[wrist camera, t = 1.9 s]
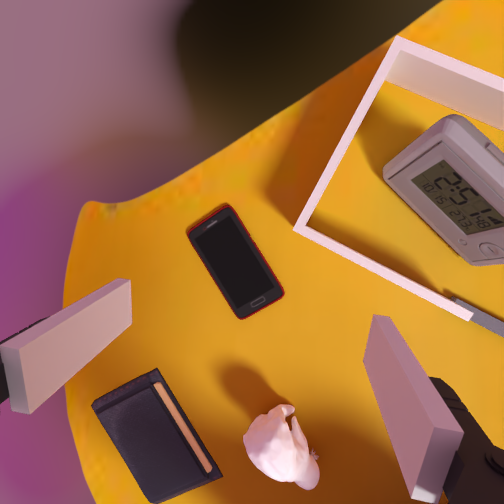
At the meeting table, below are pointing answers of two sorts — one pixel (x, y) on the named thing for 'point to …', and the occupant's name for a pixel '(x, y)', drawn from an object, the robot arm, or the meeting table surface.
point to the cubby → (431, 87)
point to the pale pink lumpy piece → (281, 448)
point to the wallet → (155, 438)
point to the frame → (482, 318)
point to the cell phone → (235, 263)
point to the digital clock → (455, 187)
